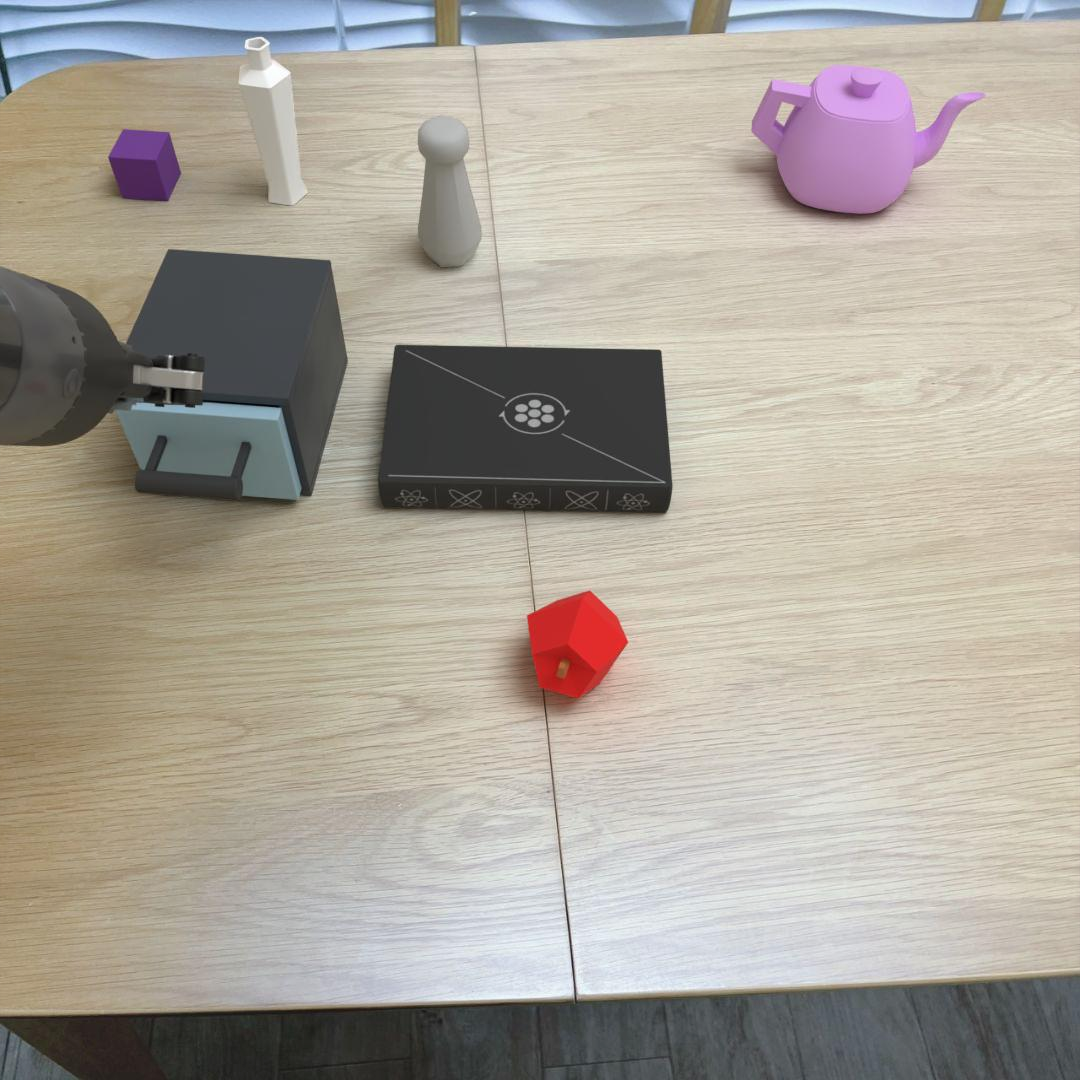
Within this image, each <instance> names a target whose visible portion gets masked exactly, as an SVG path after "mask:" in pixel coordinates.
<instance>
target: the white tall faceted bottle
mask: <svg viewBox="0 0 1080 1080" xmlns="http://www.w3.org/2000/svg"><path fill="white" fill-rule="evenodd" d="M244 41H245V42H244V49H245V50H246V53H247V57H248V61H249V62H247V63H245V64H242V65H240V67H239V74H238V82H237V83H238V87H239V89H240V93H241V96H242V100H243V103H244V106H245V110H246V113H247V116H248V121H249V123H250V126H251V130H252V133H253V137H254V140H255V144H256V147H257V150H258V153H259V157H260V161H261V164H262V168H263V170H264V173H265V177H266V181H267V184H268V192H267V193H268V196H267V202H268V203H271V204H278V205H283V206H284V205H285V206H295V205H296V204H297V203H298V202H299V201H301V200H303V198H304V197H305V196H306V195H307V194H308V193H309V191H308V189H307V187H306V185H305V183H304V181H303V179H302V171H301V162H300V154H299V153H300V151H299V142H298V133H297V124H296V114H295V104H294V95H293V94H294V93H293V84H292V75H291V71H290V70H288V69H287V68H286V67H285V66H283V65H282V64H280V63H279V62H278V61H276V60H275V59H272V57H271V50H270V44H271V43H270V41H269V40H267V39H266V38H264V37H263V36H257V37H252V38H248V39H246V40H244Z"/></svg>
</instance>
